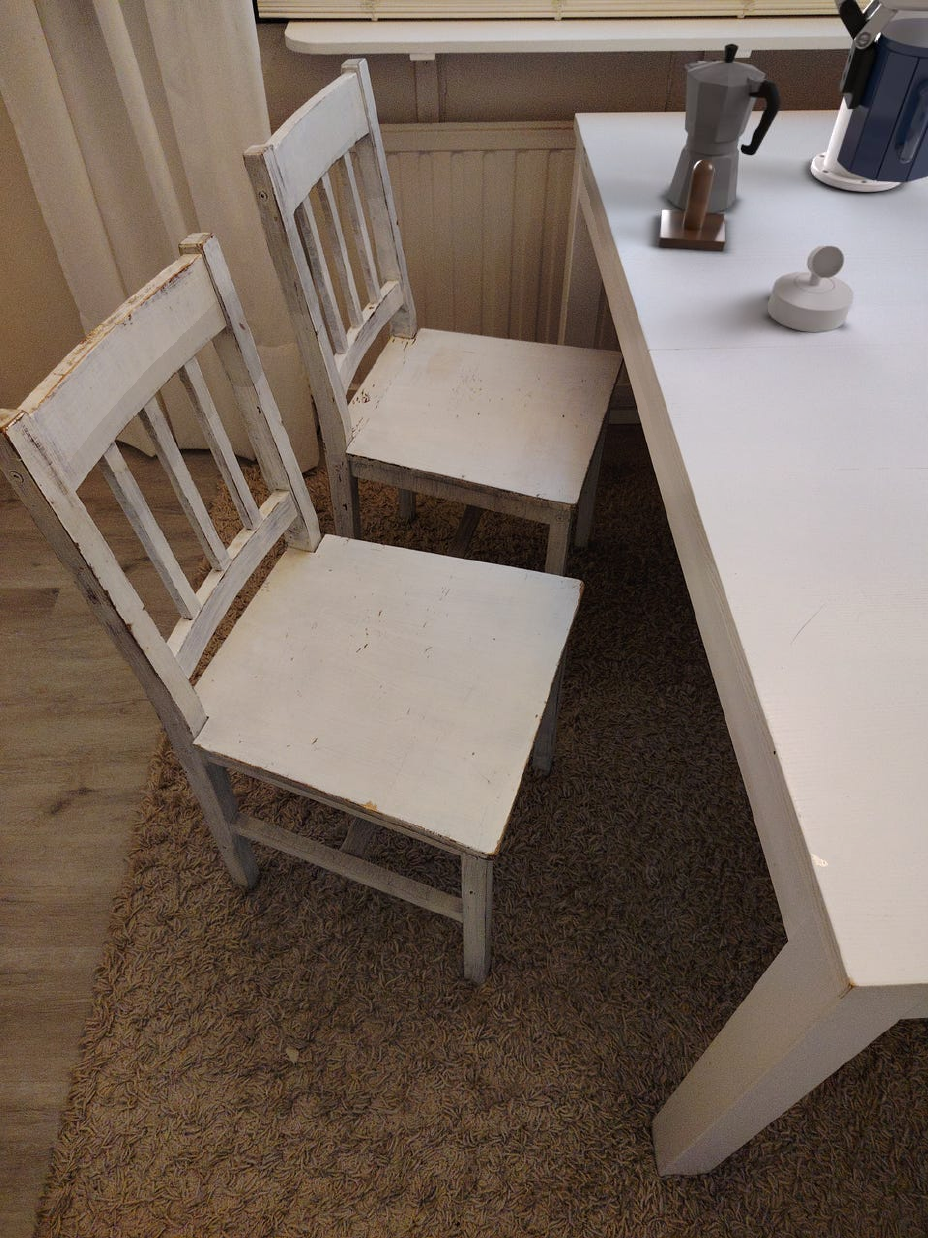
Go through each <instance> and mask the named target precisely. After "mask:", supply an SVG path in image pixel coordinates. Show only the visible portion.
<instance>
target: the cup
mask: <svg viewBox="0 0 928 1238" xmlns="http://www.w3.org/2000/svg"><path fill="white" fill-rule="evenodd" d="M873 46H874V48H875V51H876V53H875V57H874V60H873V63H872V66H871V69H870V72H869V76H868V79H867V82H866V85H865V88H864V91H863V94H862V97H861V100H860V103H859V106H858V108H855V109H854V110H852V114H851V117H850V120H849V123H848V126H847V129H846V132H845V136H844V139H843V142H842V145H841V148H840V151H839V154H838V158H837V162H838V163H839V164H840V165H841V166H842V167H843V168H844V169H845V170H846V171H847V172H850V173H851V174H854V175H857V176H860V177H864V178H867V179H870V180H873V181H875V180H876V181H881V182H901V183H903V184H905V183H909V182H910V183H911V182H913V181H917V180H920V179H924V178H927V177H928V18H907V19H899V20H894V21H890V22H889V23H888V24H887V25H886V26H885V27H884V29H883V30H882V31H881V32H880V33H879V34H878V36H877V38H876V40H875V41H874V44H873ZM901 183H900V184H901Z"/></svg>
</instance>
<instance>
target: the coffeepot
mask: <svg viewBox="0 0 928 1238" xmlns="http://www.w3.org/2000/svg"><path fill="white" fill-rule="evenodd" d="M739 48H740V46H739V45H737V44H735V43H727V44H726V45H724V53H723V54H724V55H723V60H716V61H707V60H698V61H695V60H693V61H691V62H689V63H684V68H685V69H686V71H687V73H686V92H685V95H686V96H685V99H686V100H685V114H684V115H685V117H684V118H685V120H684V131H685V132H686V133H687V135H686V140H685V145H684V146H683V147H682V149H681V152H680V155H679V157H678V161H677V164H676V168H675V170H674V173H673V176H672V180H671V182H670V184H669V188H668V191H667V194H666V197H667V198H668V200H669V201H670V203H671V204H672V205H673V206H674V207H676V208H678V209H680V210H682V211H685V210H686V204H687V199H688V194H689V188H690V183H691V178H692V173H693V168H694V166H695V164H696V163H697V162H698V161H700V160H702V159H708V160H710V161H711V162H712V163H713V164H714V167H715V172H714V177H713V182H712V186H711V191H710V196H709V201H708V206H707V210H706V212H707V213H721V212H723V211H725V210H728V209H729V208H730V207H731V206H732V205H733V203H734V202H735V200H737V199H736V198H737V184H738V174H739V173H738V171H739V158H740V152H741V153H742V154H743V155H746V156H750V157H751V156H754V155H755V154H756V153H757V152H758V150H759V148H760V146H761V144H762V143H763V140H764V139H765V137H766V135H767V133H768V131H769V129H770V128H771V126H772V124H773V122H774V121H775V119H776V116H777V115H778V114H779V112H780V109H781V106H782V97H781V94H780V91H779V87H778V84H777V83H776V82H775V81H772V80H768V79H766V78H765V76H766V73H764V72H763V71H761V70H760V69H758V68H757V67H756V66H754V65H753V64H749V63H744V62H739V61H734V60H735V58H736V55H737V52H738V50H739ZM757 99H763V100H765V103H766V107H765V108H764V110H763V112H762V113H761V117H760V120H759V123H758V125H757V126H756V128H755V129H754V131H753V132H752V137H751V140H750V143H749V145H748V144H744V143H741V145H740V150H739V148H738V146H739V141H740V137H742V135H743V134H744V133H745V131H746V128H747V125H748V123H749V120H750V117H751V114H752V112H753V109H754V107H755V103H756V101H757Z"/></svg>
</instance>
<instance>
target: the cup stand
mask: <svg viewBox="0 0 928 1238" xmlns="http://www.w3.org/2000/svg"><path fill="white" fill-rule="evenodd" d="M714 172H715V167H714V164H713V163H712V162H711V161H710V160H708V159H702V160H700V161H698V162H697V163H696V164H695V166H694V168H693V173H692V178H691V183H690V188H689V194H688V199H687V204H686V210H674V209H673V210H670V209H662V210H661V216H660V227H659V238H658V239H659V241H658V247H659V248H670V249H672V248H673V249H685V250H686V249H687V250H702V251H715V252H716V251H718V252H723V251H724V248H725V244H726V230H725V227H726V226H725V213H724V212H723V213H721V212H715V213H707V212H706V210H707V206H708V201H709V196H710V191H711V186H712V182H713V177H714Z"/></svg>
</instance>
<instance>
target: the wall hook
mask: <svg viewBox="0 0 928 1238" xmlns="http://www.w3.org/2000/svg"><path fill="white" fill-rule="evenodd" d="M844 264H845V255H844V253H843V251H842V250H841V249H840V248H839V247H837V246H834V245H825V244H824V245H820V246H816V247H815V248H814V249H812V250H811V252H810V253H809V254H808V257H807V260H806V266H807V269H808V271H795V272H789V273H786V274H784V275H781V276H780V277H778V278H777V279H775V282H774V284H773V286H772V290H771V294H770V297H769V300H768V303H767V312H768V314H769V316H770V317H771V318H772V319H773V320H774V321H776V322H777V323H779V324H780V325H782V326H785V327H787V328H790V329H793V330H796V331H802V332H808V333H823V332H829V331H833V330H835V329H838V328H839V327H841V326H842V325H843V324H844V323H845V321H846V319H847V317H848V314H849V311H850V309H851V307H852V303H853V301H854V297H855V295H854V291H853V289H852V288H851V287H850V286H849V285H848V283H846V282H845V281H843V280H842V279H840V278H837V277H835V276H836V275H838V274H839V272H840V271H841V270H842V269H843V266H844Z"/></svg>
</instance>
